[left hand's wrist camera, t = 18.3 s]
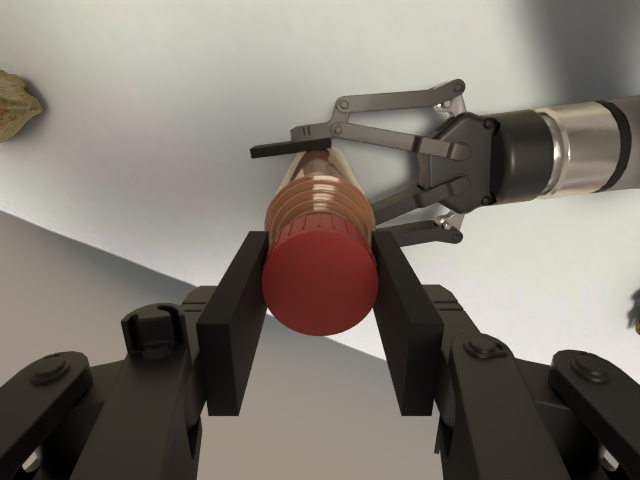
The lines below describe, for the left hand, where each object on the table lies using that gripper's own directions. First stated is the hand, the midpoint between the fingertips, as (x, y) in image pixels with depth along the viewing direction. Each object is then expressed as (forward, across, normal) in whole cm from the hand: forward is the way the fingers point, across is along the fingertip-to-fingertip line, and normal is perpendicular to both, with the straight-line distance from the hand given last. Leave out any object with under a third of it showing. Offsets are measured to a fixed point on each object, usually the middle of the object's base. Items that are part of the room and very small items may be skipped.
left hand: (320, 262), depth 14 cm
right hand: (+17, -5, -1) cm, 18 cm away
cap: (-2, 0, 0) cm, 2 cm away
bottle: (+23, 0, 0) cm, 23 cm away
